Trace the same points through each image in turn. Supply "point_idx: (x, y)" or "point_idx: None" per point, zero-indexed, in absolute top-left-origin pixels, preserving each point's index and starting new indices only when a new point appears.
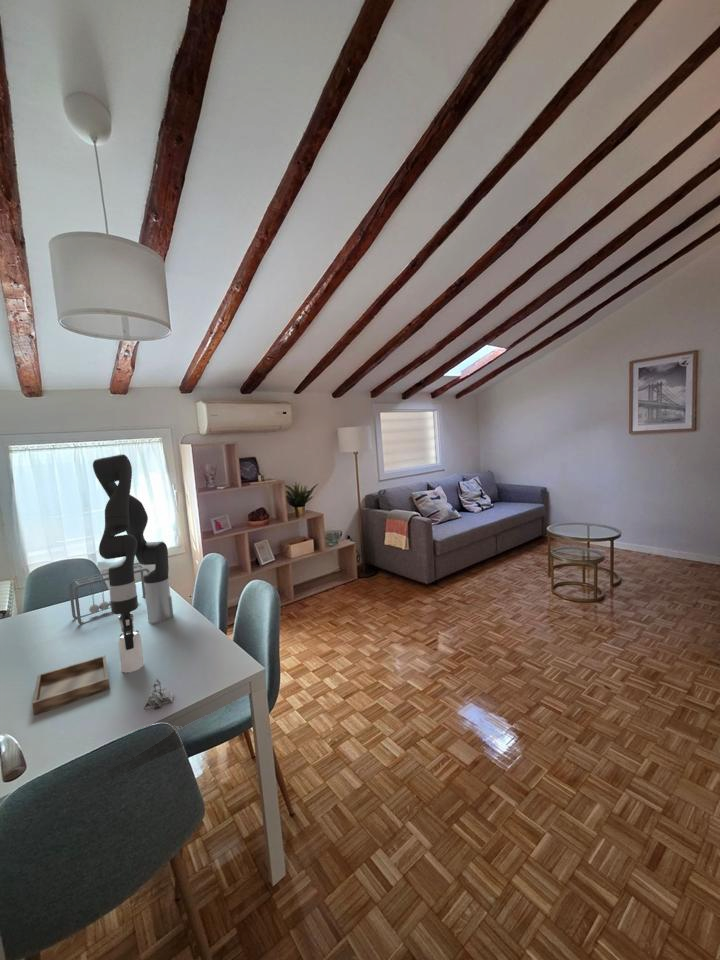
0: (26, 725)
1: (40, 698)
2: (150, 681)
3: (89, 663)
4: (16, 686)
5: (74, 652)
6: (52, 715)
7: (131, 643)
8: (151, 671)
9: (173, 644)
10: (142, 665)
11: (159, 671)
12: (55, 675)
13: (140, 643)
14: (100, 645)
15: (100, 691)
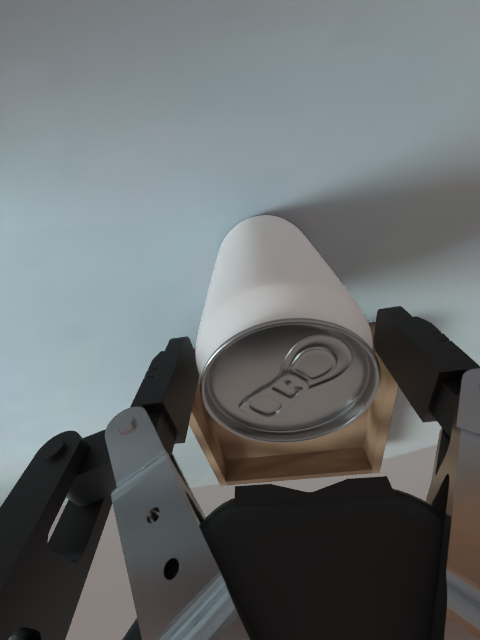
0: (400, 444)
1: (311, 450)
2: (465, 163)
3: (195, 407)
4: (201, 479)
5: (50, 431)
6: (402, 417)
7: (447, 342)
8: (354, 165)
9: (21, 6)
10: (284, 219)
11: (391, 113)
12: (219, 453)
13: (305, 259)
14: (5, 385)
15: None
